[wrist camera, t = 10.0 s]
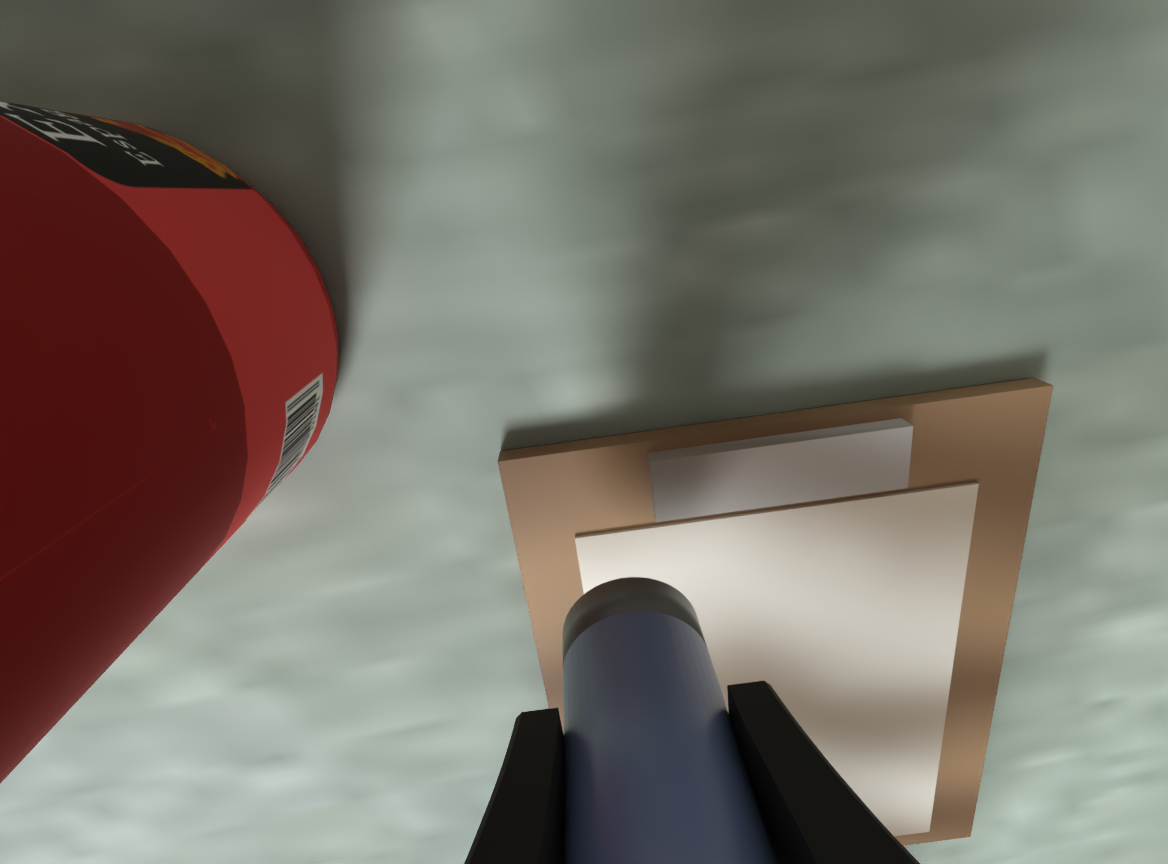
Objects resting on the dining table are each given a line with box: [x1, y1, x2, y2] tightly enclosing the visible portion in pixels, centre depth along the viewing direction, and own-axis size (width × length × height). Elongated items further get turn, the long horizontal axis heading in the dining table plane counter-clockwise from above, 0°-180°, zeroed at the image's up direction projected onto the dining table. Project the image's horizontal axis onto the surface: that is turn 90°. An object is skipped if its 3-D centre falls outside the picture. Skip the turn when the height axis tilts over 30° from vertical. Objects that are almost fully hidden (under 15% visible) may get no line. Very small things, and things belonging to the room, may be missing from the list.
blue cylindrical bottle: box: [562, 577, 777, 864], centre depth 8 cm, size 3×3×8 cm
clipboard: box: [498, 378, 1053, 845], centre depth 17 cm, size 16×13×1 cm
